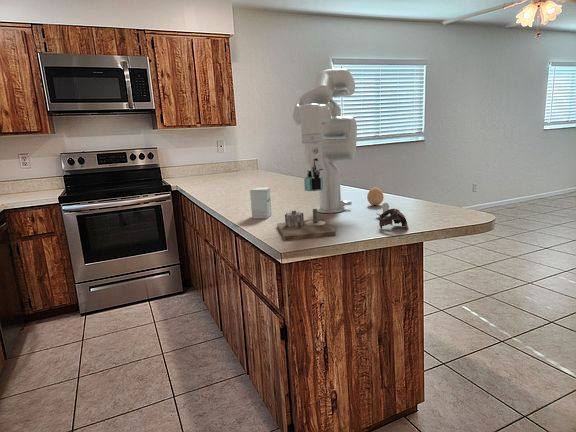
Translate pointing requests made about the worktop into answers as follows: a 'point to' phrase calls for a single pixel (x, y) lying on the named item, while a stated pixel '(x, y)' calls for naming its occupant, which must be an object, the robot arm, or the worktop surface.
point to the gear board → (304, 227)
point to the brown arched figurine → (394, 215)
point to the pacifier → (384, 209)
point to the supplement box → (260, 202)
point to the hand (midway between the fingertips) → (313, 187)
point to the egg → (375, 196)
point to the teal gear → (309, 184)
